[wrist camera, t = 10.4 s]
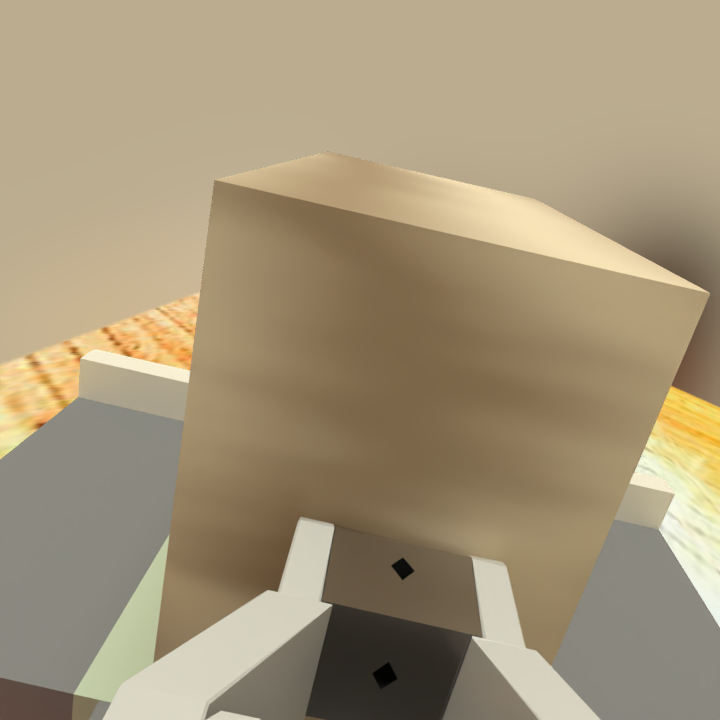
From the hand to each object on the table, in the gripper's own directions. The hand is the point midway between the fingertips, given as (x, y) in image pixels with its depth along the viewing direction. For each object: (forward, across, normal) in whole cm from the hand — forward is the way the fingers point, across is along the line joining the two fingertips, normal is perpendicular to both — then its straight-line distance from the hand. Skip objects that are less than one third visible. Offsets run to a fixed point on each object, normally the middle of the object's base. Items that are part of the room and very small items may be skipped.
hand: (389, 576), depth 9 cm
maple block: (+6, 0, +5) cm, 8 cm away
